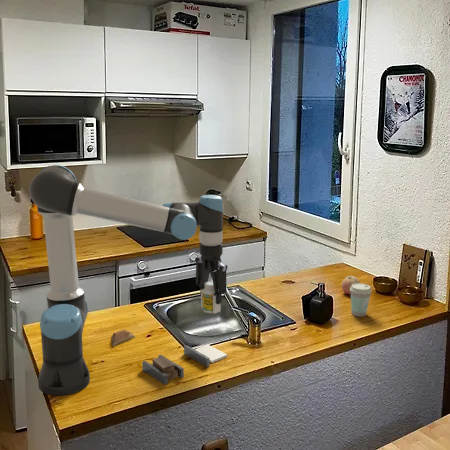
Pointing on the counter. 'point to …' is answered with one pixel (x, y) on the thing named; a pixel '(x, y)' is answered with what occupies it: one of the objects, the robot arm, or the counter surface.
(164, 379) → the grey cradle
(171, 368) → the offcut upper
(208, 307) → the supplement bottle
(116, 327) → the counter surface
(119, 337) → the shard
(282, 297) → the counter surface
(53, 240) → the robot arm
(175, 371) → the offcut lower
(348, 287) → the fruit
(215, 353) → the pad
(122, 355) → the counter surface
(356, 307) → the coffee cup
